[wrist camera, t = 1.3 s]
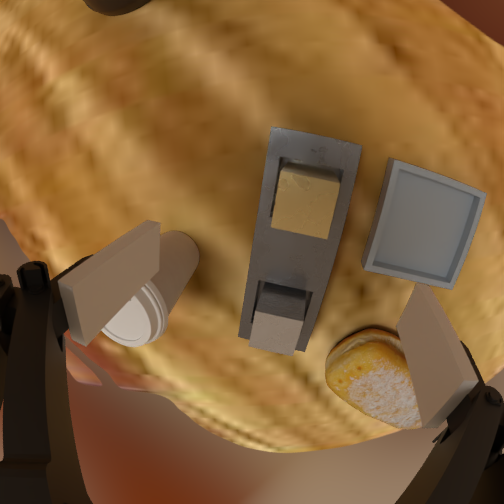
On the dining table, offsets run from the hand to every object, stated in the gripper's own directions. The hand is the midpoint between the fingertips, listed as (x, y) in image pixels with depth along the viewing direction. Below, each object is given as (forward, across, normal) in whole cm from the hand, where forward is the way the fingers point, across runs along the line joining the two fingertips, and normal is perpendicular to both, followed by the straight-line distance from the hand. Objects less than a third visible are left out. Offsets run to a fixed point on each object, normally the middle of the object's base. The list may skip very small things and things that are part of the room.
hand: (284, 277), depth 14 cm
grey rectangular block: (+20, +1, -13) cm, 24 cm away
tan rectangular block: (+20, 0, +1) cm, 20 cm away
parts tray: (+21, +16, 0) cm, 26 cm away
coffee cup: (+21, -14, -12) cm, 28 cm away
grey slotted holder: (+21, +1, -6) cm, 22 cm away
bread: (+21, +22, -24) cm, 39 cm away
